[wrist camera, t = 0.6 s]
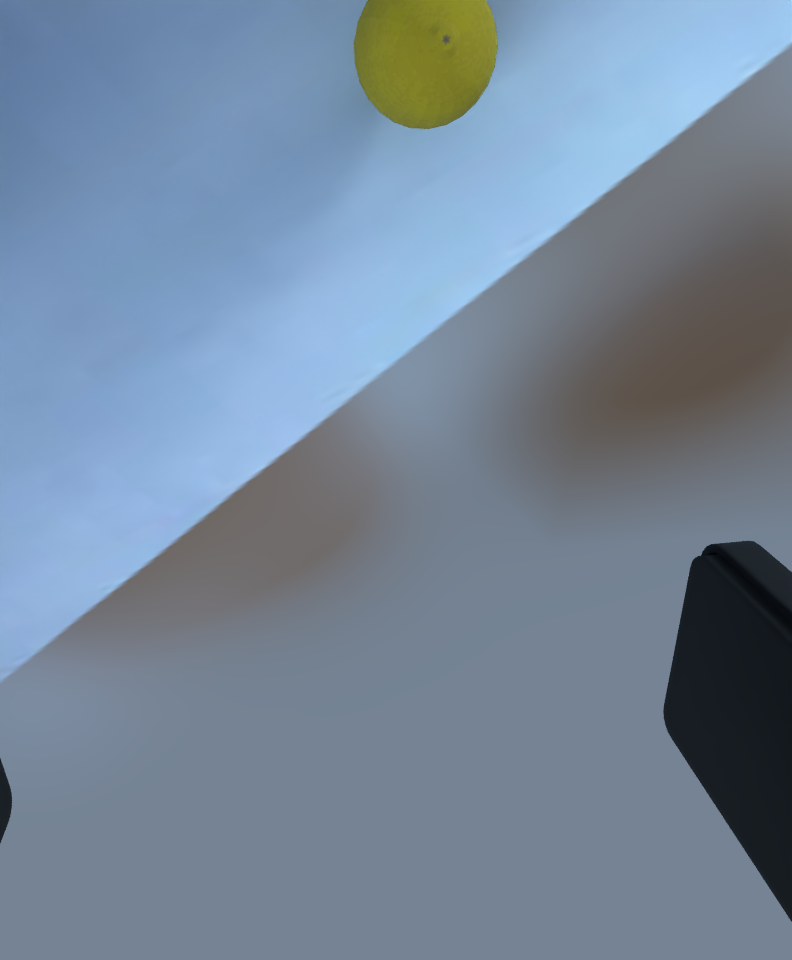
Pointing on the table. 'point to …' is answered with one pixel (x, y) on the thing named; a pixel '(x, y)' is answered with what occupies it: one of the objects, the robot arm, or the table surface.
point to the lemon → (425, 58)
